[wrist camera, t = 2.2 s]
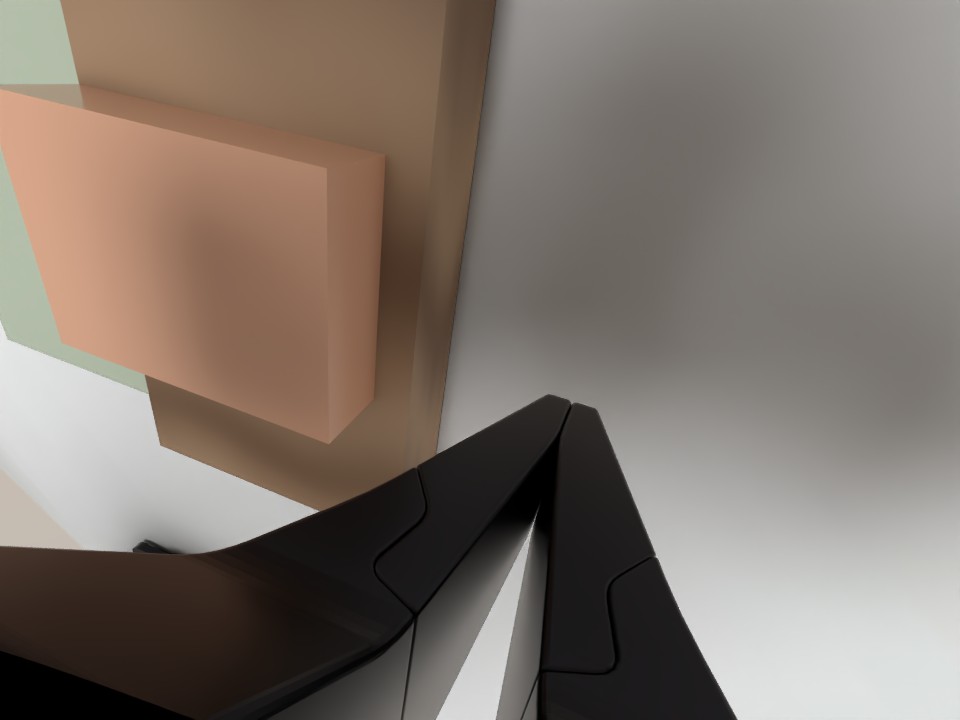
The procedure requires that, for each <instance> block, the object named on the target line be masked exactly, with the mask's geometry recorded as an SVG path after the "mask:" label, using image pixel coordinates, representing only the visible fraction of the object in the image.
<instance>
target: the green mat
mask: <svg viewBox="0 0 960 720" xmlns="http://www.w3.org/2000/svg"><path fill="white" fill-rule="evenodd" d="M0 84H79V82H78V77H77V73H76V69H75V64H74V60H73V55H72V51H71V46H70V42H69V38H68V33H67V29H66V24H65V20H64V15H63V11H62V7H61V2H60V0H0ZM0 320H1V323H2V325H3V328H4V331H5V333H6V336H7V339H8V340H11V341H13V342H16V343H19V344H21V345H24V346H26V347H29V348H31V349H34V350H37V351H39V352H42V353H44V354H47V355H49V356H52V357H55V358H57V359H60V360H62V361H65V362H67V363H70V364H73V365H75V366H78V367H80V368H83V369H85V370H88V371H91V372H93V373H96V374H98V375H101V376H103V377H106V378H109V379H111V380H114V381H116V382H119V383H121V384H124V385H127V386H129V387H132V388H134V389H137V390H140V391H142V392H145V393H147V394H149V392H148V388H147V383H146V379H145V374H142V373H139V372H137V371H134V370H132V369H129V368H126V367H124V366H121V365H118V364H116V363H113V362H110V361H108V360H105V359H102V358H100V357H97V356H95V355H92V354H89V353H87V352H84V351H81V350H79V349H76V348H73V347H71V346H68V345H66V344H63V343H62V342H61V338H60V335H59V332H58V329H57V326H56V322H55V319H54V316H53V313H52V310H51V306H50V303H49V300H48V297H47V294H46V290H45V287H44V284H43V281H42V278H41V274H40V271H39V268H38V265H37V262H36V258H35V255H34V252H33V249H32V246H31V242H30V239H29V236H28V233H27V230H26V226H25V223H24V220H23V217H22V213H21V210H20V207H19V204H18V201H17V197H16V194H15V191H14V188H13V185H12V181H11V178H10V175H9V172H8V169H7V165H6V162H5V159H4V156H3V153H2V149H1V146H0Z"/></svg>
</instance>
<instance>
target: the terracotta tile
mask: <svg viewBox="0 0 960 720" xmlns="http://www.w3.org/2000/svg"><path fill="white" fill-rule="evenodd" d="M0 146H1V149H2V153H3V156H4V159H5V162H6V165H7V169H8V172H9V175H10V178H11V181H12V185H13V188H14V191H15V194H16V197H17V201H18V204H19V207H20V210H21V213H22V217H23V220H24V223H25V226H26V230H27V233H28V236H29V239H30V242H31V246H32V249H33V252H34V255H35V258H36V262H37V265H38V268H39V271H40V274H41V278H42V281H43V284H44V287H45V290H46V294H47V297H48V300H49V303H50V306H51V310H52V313H53V316H54V319H55V322H56V326H57V329H58V332H59V335H60V338H61V342H62V343H63V344H66V345H68V346H71V347H73V348H76V349H79V350H81V351H84V352H87V353H89V354H92V355H95V356H97V357H100V358H102V359H105V360H108V361H110V362H113V363H116V364H118V365H121V366H124V367H126V368H129V369H132V370H134V371H137V372H139V373H142V374H145V375H147V376H150V377H153V378H155V379H158V380H161V381H163V382H166V383H168V384H171V385H174V386H176V387H179V388H182V389H184V390H187V391H190V392H192V393H195V394H198V395H200V396H203V397H205V398H208V399H211V400H213V401H216V402H219V403H221V404H224V405H227V406H229V407H232V408H234V409H237V410H240V411H242V412H245V413H248V414H250V415H253V416H256V417H258V418H261V419H264V420H266V421H269V422H271V423H274V424H277V425H279V426H282V427H285V428H287V429H290V430H293V431H295V432H298V433H300V434H303V435H306V436H308V437H311V438H314V439H316V440H319V441H322V442H324V443H327V444H330V443H331V442H332V441H333V440H334V439H335V438H336V437H337V436H338V435H339V434H340V433H341V432H342V431H343V430H344V429H345V428H346V427H347V426H348V425H349V424H350V423H351V422H352V421H353V420H354V419H355V418H356V417H357V416H358V415H359V414H360V413H361V412H362V411H363V410H364V409H365V408H366V407H367V406H368V405H369V404H370V403H371V402H372V401H373V400H374V386H375V366H376V345H377V324H378V303H379V282H380V261H381V241H382V220H383V199H384V178H385V157H386V154H382V153H378V152H373V151H369V150H364V149H360V148H356V147H351V146H347V145H343V144H338V143H334V142H330V141H325V140H321V139H316V138H312V137H308V136H303V135H299V134H295V133H290V132H286V131H282V130H277V129H273V128H268V127H264V126H260V125H255V124H251V123H247V122H242V121H238V120H234V119H229V118H225V117H220V116H216V115H212V114H207V113H203V112H199V111H194V110H190V109H186V108H181V107H177V106H172V105H168V104H164V103H159V102H155V101H151V100H146V99H142V98H138V97H133V96H129V95H125V94H120V93H116V92H111V91H107V90H103V89H98V88H94V87H90V86H85V85H81V84H0Z"/></svg>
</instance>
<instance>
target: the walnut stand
mask: <svg viewBox="0 0 960 720" xmlns="http://www.w3.org/2000/svg"><path fill="white" fill-rule="evenodd" d="M60 2H61V7H62V11H63V15H64V20H65V24H66V29H67V33H68V38H69V42H70V46H71V51H72V55H73V60H74V64H75V69H76V73H77V77H78V82H79V84H81V85H85V86H90V87H94V88H98V89H103V90H107V91H111V92H116V93H120V94H125V95H129V96H133V97H138V98H142V99H146V100H151V101H155V102H159V103H164V104H168V105H172V106H177V107H181V108H186V109H190V110H194V111H199V112H203V113H207V114H212V115H216V116H220V117H225V118H229V119H234V120H238V121H242V122H247V123H251V124H255V125H260V126H264V127H268V128H273V129H277V130H282V131H286V132H290V133H295V134H299V135H303V136H308V137H312V138H316V139H321V140H325V141H330V142H334V143H338V144H343V145H347V146H351V147H356V148H360V149H364V150H369V151H373V152H378V153H382V154H386V157H385V178H384V199H383V220H382V241H381V261H380V282H379V303H378V324H377V345H376V366H375V386H374V400H373V401H372V402H371V403H370V404H369V405H368V406H367V407H366V408H365V409H364V410H363V411H362V412H361V413H360V414H359V415H358V416H357V417H356V418H355V419H354V420H353V421H352V422H351V423H350V424H349V425H348V426H347V427H346V428H345V429H344V430H343V431H342V432H341V433H340V434H339V435H338V436H337V437H336V438H335V439H334V440H333V441H332V442H331V443H330V444H327V443H324V442H322V441H319V440H316V439H314V438H311V437H308V436H306V435H303V434H300V433H298V432H295V431H293V430H290V429H287V428H285V427H282V426H279V425H277V424H274V423H271V422H269V421H266V420H264V419H261V418H258V417H256V416H253V415H250V414H248V413H245V412H242V411H240V410H237V409H234V408H232V407H229V406H227V405H224V404H221V403H219V402H216V401H213V400H211V399H208V398H205V397H203V396H200V395H198V394H195V393H192V392H190V391H187V390H184V389H182V388H179V387H176V386H174V385H171V384H168V383H166V382H163V381H161V380H158V379H155V378H153V377H150V376H147V375H145V379H146V383H147V388H148V392H149V397H150V401H151V405H152V410H153V414H154V419H155V423H156V428H157V432H158V437H159V441H160V445H161V446H163V447H166V448H168V449H171V450H173V451H176V452H178V453H180V454H183V455H185V456H188V457H190V458H192V459H195V460H197V461H200V462H202V463H205V464H207V465H209V466H212V467H214V468H217V469H219V470H221V471H224V472H226V473H229V474H231V475H234V476H236V477H238V478H241V479H243V480H246V481H248V482H250V483H253V484H255V485H258V486H260V487H263V488H265V489H267V490H270V491H272V492H275V493H277V494H279V495H282V496H284V497H287V498H289V499H292V500H294V501H296V502H299V503H301V504H304V505H306V506H308V507H311V508H313V509H316V510H318V511H322V510H325V509H327V508H330V507H332V506H335V505H337V504H339V503H342V502H344V501H346V500H348V499H351V498H353V497H355V496H358V495H360V494H362V493H364V492H367V491H369V490H371V489H373V488H375V487H377V486H379V485H381V484H383V483H385V482H387V481H389V480H391V479H393V478H395V477H397V476H398V475H400V474H402V473H404V472H406V471H408V470H409V469H411V468H413V467H415V468H417V466H418V465H419V464H421V463H423V462H424V461H426V460H428V459H430V458H432V457H434V456H435V455H436V448H437V441H438V433H439V426H440V418H441V411H442V403H443V396H444V388H445V380H446V373H447V365H448V358H449V350H450V343H451V335H452V328H453V320H454V313H455V305H456V297H457V290H458V282H459V275H460V267H461V260H462V252H463V245H464V237H465V230H466V222H467V214H468V207H469V199H470V192H471V184H472V177H473V169H474V162H475V154H476V147H477V139H478V131H479V124H480V116H481V109H482V101H483V94H484V86H485V79H486V71H487V64H488V56H489V48H490V41H491V33H492V26H493V18H494V11H495V3H496V0H60Z"/></svg>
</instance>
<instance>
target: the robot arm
mask: <svg viewBox="0 0 960 720" xmlns="http://www.w3.org/2000/svg"><path fill="white" fill-rule="evenodd" d="M537 511H538V512H537ZM536 514H537V515H536ZM535 517H536V519H535ZM534 519H535V522H534ZM533 522H534V525H533ZM532 525H533V530H532V534H531V539H530V544H529V549H528V554H527V559H526V565H525V570H524V575H523V580H522V586H521V591H520V596H519V601H518V607H517V612H516V617H515V622H514V628H513V633H512V638H511V643H510V649H509V654H508V659H507V664H506V669H505V675H504V680H503V685H502V690H501V696H500V701H499V706H498V711H497V717H496V720H737V718H736V716H735V714H734V712H733V710H732V709H731V707H730V705H729V703H728V701H727V699H726V697H725V696H724V694H723V692H722V690H721V688H720V686H719V685H718V683H717V681H716V679H715V677H714V675H713V674H712V672H711V670H710V668H709V666H708V664H707V663H706V661H705V659H704V657H703V655H702V653H701V651H700V649H699V647H698V645H697V643H696V642H695V640H694V638H693V636H692V634H691V632H690V630H689V628H688V626H687V624H686V622H685V620H684V618H683V616H682V614H681V612H680V610H679V607H678V605H677V603H676V601H675V598H674V596H673V594H672V592H671V589H670V587H669V585H668V583H667V580H666V578H665V575H664V573H663V570H662V568H661V565H660V563H659V560H658V559H657V558H656V557H655V556H656V554H655V551H654V549H653V546H652V544H651V541H650V539H649V536H648V534H647V531H646V529H645V526H644V524H643V522H642V519H641V517H640V514H639V512H638V509H637V507H636V504H635V502H634V499H633V497H632V494H631V492H630V490H629V487H628V485H627V482H626V480H625V477H624V475H623V472H622V470H621V467H620V465H619V462H618V460H617V458H616V455H615V453H614V450H613V448H612V445H611V443H610V440H609V438H608V435H607V433H606V430H605V428H604V425H603V423H602V421H601V418H600V416H599V413H598V411H597V410H596V409H595V408H592V407H589V406H586V405H582V404H579V403H573V404H572V405H571V402H570V401H569V400H567V399H564V398H560V397H557V396H554V395H551V394H548V395H546V396H544V397H542V398H540V399H538V400H536V401H535V402H533V403H531V404H529V405H527V406H525V407H524V408H522V409H520V410H518V411H516V412H514V413H513V414H511V415H509V416H507V417H505V418H503V419H502V420H500V421H498V422H496V423H494V424H492V425H491V426H489V427H487V428H485V429H483V430H481V431H480V432H478V433H476V434H474V435H472V436H470V437H469V438H467V439H465V440H463V441H461V442H459V443H458V444H456V445H454V446H452V447H450V448H448V449H447V450H445V451H443V452H441V453H439V454H437V455H435V456H434V457H432V458H430V459H428V460H426V461H424V462H423V463H421V464H419V465H418V466H417V468H415V467H413V468H411V469H409V470H408V471H406V472H404V473H402V474H400V475H398V476H397V477H395V478H393V479H391V480H389V481H387V482H385V483H383V484H381V485H379V486H377V487H375V488H373V489H371V490H369V491H367V492H364V493H362V494H360V495H358V496H355V497H353V498H351V499H348V500H346V501H344V502H342V503H339V504H337V505H335V506H332V507H330V508H327V509H325V510H322V511H320V512H318V513H315V514H313V515H310V516H308V517H305V518H303V519H300V520H298V521H295V522H293V523H290V524H288V525H286V526H283V527H281V528H278V529H276V530H273V531H271V532H268V533H266V534H263V535H261V536H259V537H256V538H254V539H251V540H249V541H246V542H243V543H240V544H238V545H235V546H232V547H228V548H225V549H221V550H217V551H212V552H207V553H201V554H188V555H174V554H168V553H166V552H163V551H161V550H159V549H157V548H155V547H153V546H151V545H149V544H146V543H144V542H140V543H139V544H138V545H137V546H136V547H134V548H133V552H114V551H94V550H74V549H54V548H33V547H12V546H0V720H436V718H437V716H438V714H439V712H440V710H441V708H442V706H443V704H444V702H445V700H446V698H447V696H448V694H449V692H450V690H451V688H452V686H453V684H454V682H455V680H456V678H457V676H458V674H459V672H460V670H461V668H462V666H463V664H464V662H465V660H466V658H467V656H468V654H469V652H470V650H471V648H472V646H473V644H474V642H475V640H476V638H477V636H478V634H479V632H480V630H481V628H482V626H483V624H484V622H485V620H486V618H487V616H488V614H489V612H490V610H491V608H492V606H493V604H494V602H495V600H496V598H497V596H498V594H499V592H500V590H501V588H502V586H503V584H504V582H505V580H506V578H507V576H508V574H509V572H510V570H511V568H512V566H513V564H514V562H515V560H516V558H517V556H518V554H519V552H520V550H521V548H522V546H523V544H524V542H525V540H526V538H527V536H528V534H529V531H530V529H531V527H532Z"/></svg>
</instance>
